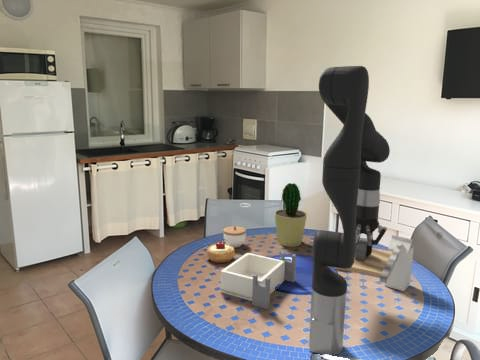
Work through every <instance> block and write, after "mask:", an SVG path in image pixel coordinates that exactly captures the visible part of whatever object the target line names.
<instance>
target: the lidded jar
mask: <svg viewBox="0 0 480 360" xmlns="http://www.w3.org/2000/svg"><path fill="white" fill-rule="evenodd" d="M246 236H247V229H246V228H245V227H243V226H236V225H233V226H232V225H231V226H227V227H225V228H223V239H226V240H227V241H228V242H227V241H226V240H224V242H225V244H228V245H231V246H232V247H234V249H235V248H241V246H242V245H243V244H244V243H245V241H246V238H247V237H246Z"/></svg>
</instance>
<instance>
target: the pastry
mask: <svg viewBox="0 0 480 360" xmlns="http://www.w3.org/2000/svg"><path fill="white" fill-rule="evenodd" d="M223 240H224V241H225V240H226V239H224V238H222V239H221V241H218V242H216V243H215V244H211V245H209V247H207V249H206V252H207V253H206V254H207V257H208V259H209V260H210V261H211V262H212V263H216V264H225V263H226V264H227V263H229V262H231V261H232V260H233V258H234V257H235V251H236V250H235V248H234V247H232V246H231V245H228V244H227V243H224V242H222V241H223ZM226 241H227V240H226ZM227 242H228V241H227Z"/></svg>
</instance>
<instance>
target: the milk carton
mask: <svg viewBox="0 0 480 360" xmlns="http://www.w3.org/2000/svg"><path fill="white" fill-rule="evenodd" d="M389 241H390V242H389V244H388V246H387V251H391V252H393V250H394V249H399V250H400V254H399V257H398V259H397V261H396V263H395V265H394V267H393V270H392V272H391V274H390V276H389V278H388V280H387V282H386V283H383V285H384V287H388V288H391V289H395V290H398V291H400V292H405V291H406V289H407V288H409V286H410V285H411V279H412V278H411V276H412V269H413V268H412V266H413V258H414V257H413V256H414V250H415V248H414V245H413V239H412V238H408V237H403V236H398V235H394V234H391V239H390V240H389Z"/></svg>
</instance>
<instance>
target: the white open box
mask: <svg viewBox="0 0 480 360" xmlns="http://www.w3.org/2000/svg"><path fill="white" fill-rule="evenodd" d="M285 255H286V252H285V251H281V252H280V259H277V258H274V257H273V258H272V257H269V256H264V255H259V254H256V253H255V254H254V253H251V252H250V253H249V252H247V253H245V254H244V255H242V256H240V257H239V258H238V259H236V260H235V261H233V262H232V263H230V264H229V265H228V266H226V267H225V268H223V269H222V270H220V293H222V294H225V295H226V294H227V295H228V296H232V297H237V298H241V299H244V300H246V301H251V303H252V304H251V306H255V307H258V308H261V309H266V310H268V309H270V307H271V305H270V303H271V301H270V300H271V299H270V298H271V295H272V293H273V292H275V290H276V289H275V287H276V285H278V284H280V285H282V284H283V282H285V281H288V282H290V283H295V281H296V268H297V267H296V266H297V254H296V253H294V254H292V255H291V260H288V259H285Z"/></svg>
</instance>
